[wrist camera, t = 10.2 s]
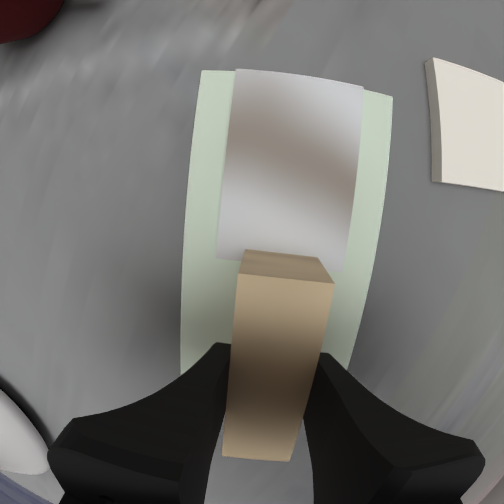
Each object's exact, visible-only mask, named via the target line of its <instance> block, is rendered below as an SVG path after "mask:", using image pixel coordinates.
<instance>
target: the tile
mask: <svg viewBox="0 0 504 504" xmlns="http://www.w3.org/2000/svg"><path fill="white" fill-rule="evenodd" d="M424 64H425V71H426V79H427V88H428V97H429V109H430V124H431V150H432V180H431V182H439V183H447V184H454V185H461V186H468V187H475V188H481V189H488V190H494V191H499V192H504V82H502V81H499V80H497V79H495V78H492V77H490V76H487V75H485V74H482V73H479V72H477V71H474V70H471V69H468V68H466V67H463V66H460V65H457V64H454V63H451V62H447V61H444V60H441V59H437V58H434V57H432V58H431V59H430V60H428V61H427V62H425V63H424Z"/></svg>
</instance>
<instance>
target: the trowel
mask: <svg viewBox="0 0 504 504" xmlns="http://www.w3.org/2000/svg"><path fill="white" fill-rule="evenodd" d="M363 89H364V87H362V86H358V85H353V84H349V83H344V82H339V81H334V80H328V79H323V78H317V77H310V76H304V75H297V74H289V73H281V72H272V71H261V70H249V69H236V73H235V80H234V88H233V96H232V104H231V112H230V120H229V129H228V137H227V146H226V155H225V165H224V174H223V184H222V194H221V204H220V215H219V226H218V238H217V250H216V258H217V259H225V260H234V261H242V262H241V265H240V268H239V272H238V279H237V289H236V299H235V310H234V321H233V331H232V342H231V357H230V368H229V379H228V391H227V402H226V411H225V423H224V435H223V447H222V456H227V457H235V458H245V459H256V460H270V461H290V458H291V455H292V452H293V449H294V446H295V442H296V439H297V436H298V433H299V430H300V426H301V423H302V419H303V415H304V412H305V408H306V405H307V401H308V398H309V394H310V390H311V387H312V383H313V379H314V375H315V371H316V367H317V363H318V360H319V356H320V352H321V348H322V343H323V339H324V335H325V330H326V326H327V321H328V316H329V312H330V307H331V302H332V297H333V292H334V287H335V283H334V281H333V280H332V278H331V277H330V275H329V274H328V272H327V271H333V272H342V271H343V265H344V260H345V254H346V248H347V242H348V236H349V229H350V223H351V216H352V209H353V201H354V194H355V186H356V177H357V168H358V158H359V148H360V136H361V123H362V108H363Z"/></svg>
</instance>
